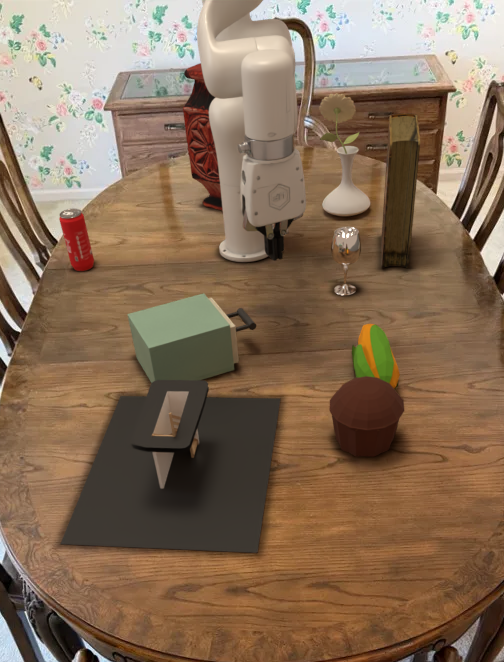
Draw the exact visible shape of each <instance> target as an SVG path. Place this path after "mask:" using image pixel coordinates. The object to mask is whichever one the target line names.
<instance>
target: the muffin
mask: <svg viewBox="0 0 504 662" xmlns="http://www.w3.org/2000/svg"><path fill="white" fill-rule="evenodd" d="M404 412H405V402H404V398H402V396H401V395H400V393H398V391H396V390H395V389H394V388H393V387H392V386H391V385H390V384H389V383H388V382H386V381H384V380H381V379H379V378H376V377H369V376H365V377H358V378H356V377H354V378H352V379H350V380H349V381H347V382H345V383H343V384H342V385H341V386H340V387H339V388H338V390H336V392H335V393H333V395H332V397H331V398H330V399H329V413H330V414H331V418H332V424H333V429H334V436H335V440H336V441H337V443H338V444H339V447H340V450H341V451H344V452H346V453H349V454H351V455H353V456H354V457H357V458H358V457H372V458H375V457H376V456H378V455H380V454H382V453H384V452H385V453H386V452H387V451H389V450H390V448H391V447H390V446H391V444H392V443H393V441H394V438H395V435H396V432H397V429H398V425H399V422H400V418H401V417H402V415H403V414H404Z"/></svg>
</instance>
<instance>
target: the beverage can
mask: <svg viewBox="0 0 504 662" xmlns="http://www.w3.org/2000/svg"><path fill="white" fill-rule="evenodd" d="M58 219H59V220H58V221H59V223H60V228H61V231H62V236H63V239H64V242H65V247H66V251H67V254H68V259H69V262H70V265H71V267H72V268H73V269H74V270H75V271H77V272H86V271H89V270H91V269H93V267H94V263H95V259H94V253H93V250H92V246H91V245H92V244H91V241H90V237H89V233H88V228H87V224H86V219H85V215H84V214H83V213H82V210H81V209H79V208H67V209H64V210H62V211H61V212H60V213H59V218H58Z"/></svg>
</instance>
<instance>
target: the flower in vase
mask: <svg viewBox="0 0 504 662" xmlns="http://www.w3.org/2000/svg"><path fill="white" fill-rule="evenodd" d="M319 105H320V106H318V111H319V112H320V115H322V118H323V119H324V120H327V121H328V122H331V121H332V122H333V124H335V134H334V133H332V132H325V133H324V134H323V135H321V137H320V138H319V140H320V141H324V142H329V143H335V142H336V140H338V141H339V143H340V145H341V146H339V147H338V148H336V153H337V155H338V157H339V158H340V164H341V181H340V183H339V185H338V186H337V187H335V188H334V189H332V191H330V192H329V193H328V194H327V195H326V196H325V197H324V199H323V201H322V204H321V207H322V209H323V210H324V211H325V212H326V213H327V214H330V215H334V216H337V217H351V216H357V215H360V214H362V213H365V212H366V211H367V210H368V209H369V208H370V207H371V200H370V197H368V195H367V194H366V193H365V192H364V191H362V189H360V188H359V187H357V186H356V185H355V184H354V182H353V165H354V160H355V157H356V155H357V154H358V152H359V151H360V148H358V147H357V146H353V145H348V144H351V143H353V142H354V141H355V140H356V139H357V138H358V136H359V135H360V132H357V133H355V134H350V135H348V136H347V137H346V138H345V140H344V141H342V140H341V138H340V136H339V134H338V133H339V132H338V124H342V123H343V122H344V123H345V122H347V121H349V120H353V116H355V113H356V112H357V109H356V105H355V104H354V100H352V97H350V96H348V97H347V96H346V94H345V93H341V94H339V93H334V94H333V93H329V95H328V96H325V97H324V98H323V99H321V102H320V104H319Z"/></svg>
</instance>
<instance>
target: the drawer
mask: <svg viewBox="0 0 504 662" xmlns="http://www.w3.org/2000/svg"><path fill="white" fill-rule="evenodd" d="M207 298H208V297H207ZM208 299H209V300H210V301H211V302H212V304H213V305H214V306H215V307H216V309H217V310H218V311H219V312H220V313H221V315H222V316H223V317H224V318H225V320H226V321H227V322H228V323H229V324H230V330H231V340H232V350H233V360H234V364H238V363H240V359H239V349H238V338H237V333H238V332H242V331H245V330H250V331H254V330H256V328H257V323H256V322H255V321H254V320H253V319H252V317H250V315H249V314H248V313H247V311H245V310H244V308H242V307H239V308H237V310H236V311H234V312H231V313H230V312H229V313H225V311H224V310H223V309H222V308H221V306H220V305H219V304H218V303H217V302H216V301H215V300H214V298H213V297H209V298H208ZM236 317H239V318H240V319H241V321H242V322H243V323H244V324H242V325H240V326H236V324H235V323H233V321H232V320H231V319H232V318H236Z"/></svg>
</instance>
